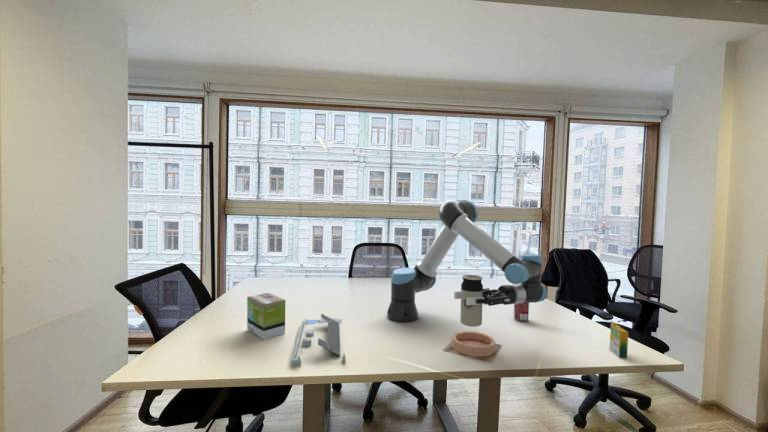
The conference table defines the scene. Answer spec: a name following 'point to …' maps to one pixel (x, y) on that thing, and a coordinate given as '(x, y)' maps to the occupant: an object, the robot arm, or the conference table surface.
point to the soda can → (521, 311)
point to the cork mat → (487, 358)
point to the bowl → (473, 344)
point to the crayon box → (618, 340)
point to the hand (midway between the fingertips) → (460, 298)
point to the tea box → (266, 315)
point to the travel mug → (471, 288)
